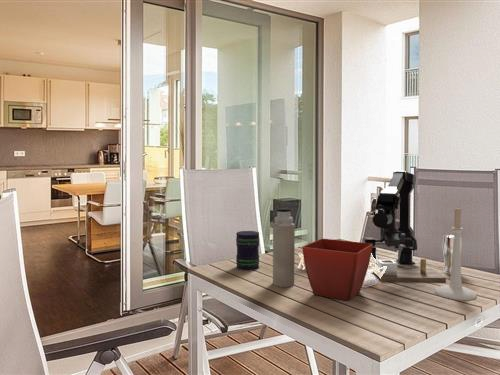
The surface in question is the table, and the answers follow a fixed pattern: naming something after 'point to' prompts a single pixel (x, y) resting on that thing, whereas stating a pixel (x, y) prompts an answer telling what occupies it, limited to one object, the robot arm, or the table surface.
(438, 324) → the table surface
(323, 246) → the plant pot
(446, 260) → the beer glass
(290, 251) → the thermos bottle
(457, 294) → the candlestick
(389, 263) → the white small box
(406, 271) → the board
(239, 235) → the storage jar
